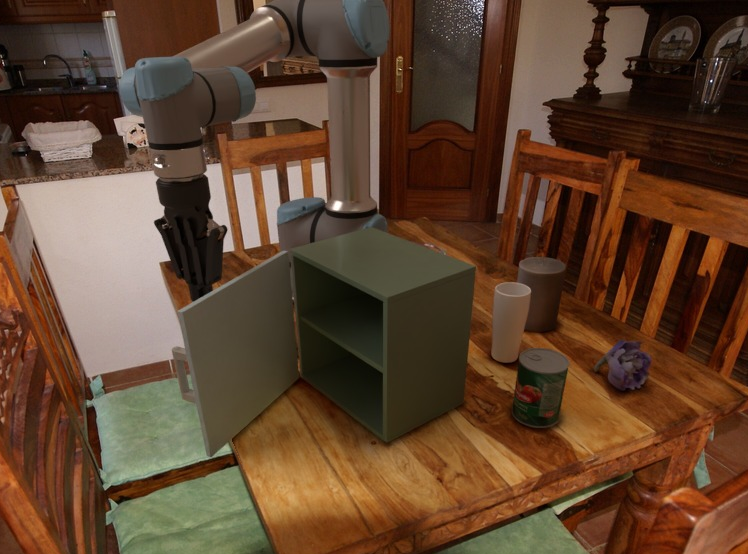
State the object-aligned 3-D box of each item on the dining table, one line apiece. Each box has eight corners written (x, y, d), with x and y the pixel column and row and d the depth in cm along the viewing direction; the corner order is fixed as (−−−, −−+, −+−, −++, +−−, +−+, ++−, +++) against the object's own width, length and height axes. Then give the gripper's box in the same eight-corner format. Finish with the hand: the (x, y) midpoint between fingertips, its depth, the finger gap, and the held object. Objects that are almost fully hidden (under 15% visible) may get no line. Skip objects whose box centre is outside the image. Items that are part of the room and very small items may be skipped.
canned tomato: (567, 414, 99) (579, 359, 93) (543, 434, 94) (553, 378, 89) (527, 395, 104) (535, 343, 98) (502, 414, 99) (509, 359, 94)
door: (181, 446, 94) (149, 303, 81) (272, 370, 113) (258, 246, 100) (211, 457, 91) (182, 312, 78) (299, 378, 111) (288, 251, 98)
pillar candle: (566, 326, 126) (577, 262, 119) (531, 336, 123) (541, 270, 115) (535, 309, 134) (545, 247, 126) (502, 318, 131) (509, 255, 123)
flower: (578, 345, 106) (636, 336, 99) (594, 346, 112) (650, 338, 106) (585, 395, 105) (644, 389, 98) (601, 393, 111) (657, 388, 105)
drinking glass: (522, 367, 112) (533, 297, 105) (487, 364, 113) (494, 295, 106) (520, 350, 118) (530, 282, 110) (487, 347, 119) (494, 280, 112)
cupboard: (386, 443, 93) (387, 297, 80) (300, 376, 111) (289, 248, 98) (463, 403, 102) (476, 266, 89) (372, 347, 120) (371, 226, 107)
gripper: (130, 177, 84) (161, 321, 96) (198, 186, 79) (222, 337, 91) (166, 167, 90) (191, 304, 102) (232, 174, 84) (251, 318, 96)
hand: (206, 319), depth 96 cm, fingers closed
